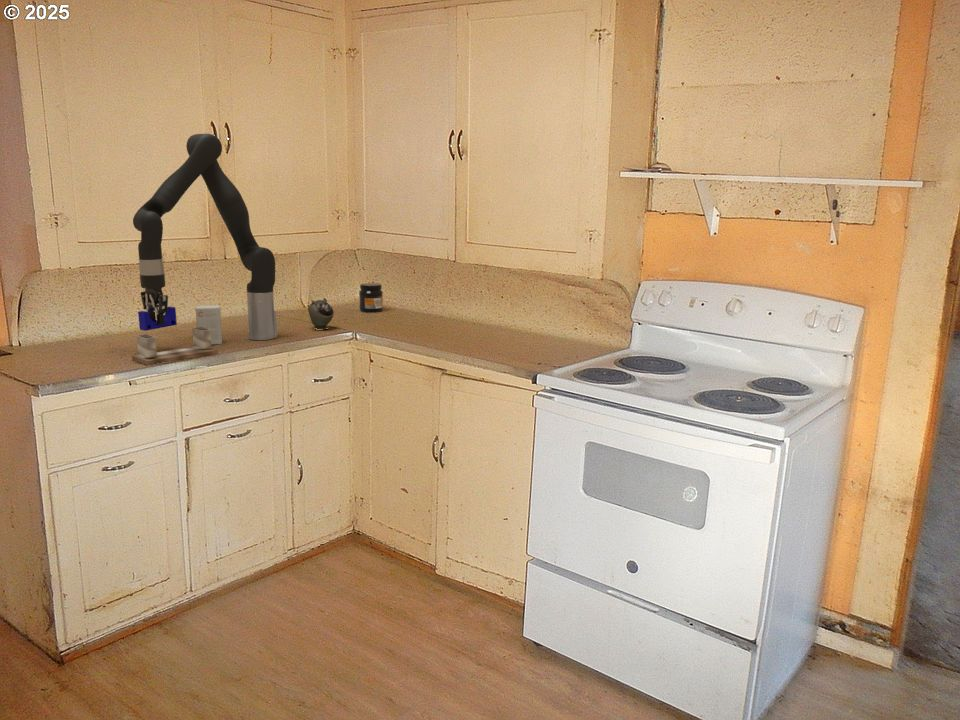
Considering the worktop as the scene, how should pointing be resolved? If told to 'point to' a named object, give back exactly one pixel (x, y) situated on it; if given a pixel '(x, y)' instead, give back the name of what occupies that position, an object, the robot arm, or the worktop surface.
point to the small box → (210, 321)
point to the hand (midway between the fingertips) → (156, 323)
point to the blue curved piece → (148, 324)
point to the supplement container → (371, 297)
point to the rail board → (151, 357)
